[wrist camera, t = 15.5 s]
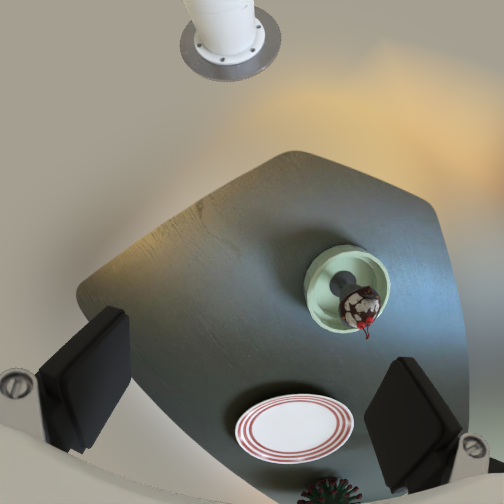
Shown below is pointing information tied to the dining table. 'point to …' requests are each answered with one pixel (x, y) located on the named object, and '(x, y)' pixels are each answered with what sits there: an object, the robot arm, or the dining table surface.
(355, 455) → the dining table surface
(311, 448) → the dinner plate
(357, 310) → the sundae
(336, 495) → the virus model
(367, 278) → the bowl
